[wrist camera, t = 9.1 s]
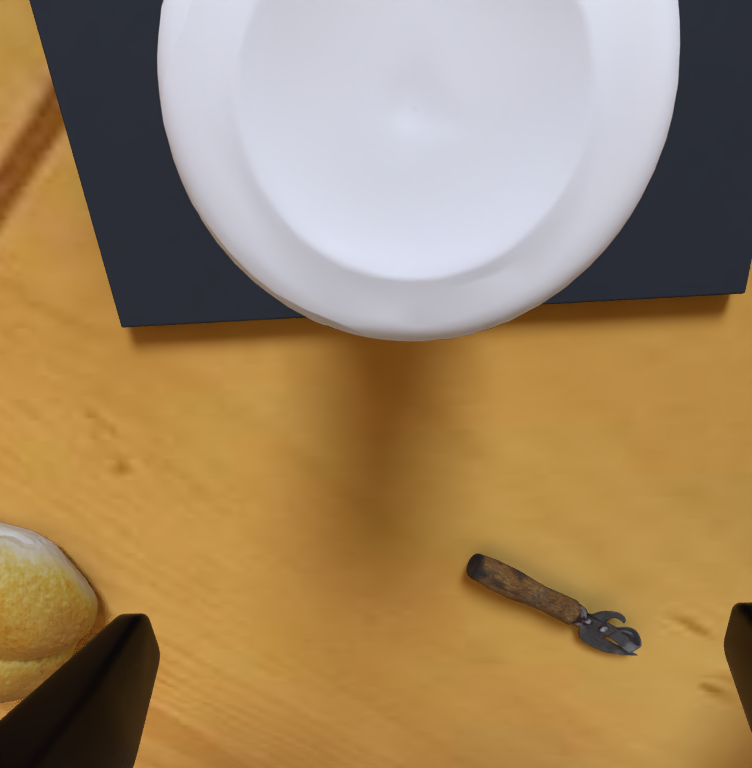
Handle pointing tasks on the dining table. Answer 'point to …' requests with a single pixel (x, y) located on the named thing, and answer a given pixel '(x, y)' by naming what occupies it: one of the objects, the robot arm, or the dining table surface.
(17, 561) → the bread roll
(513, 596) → the can opener
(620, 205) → the spice jar
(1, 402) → the dining table surface
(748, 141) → the desk mat
